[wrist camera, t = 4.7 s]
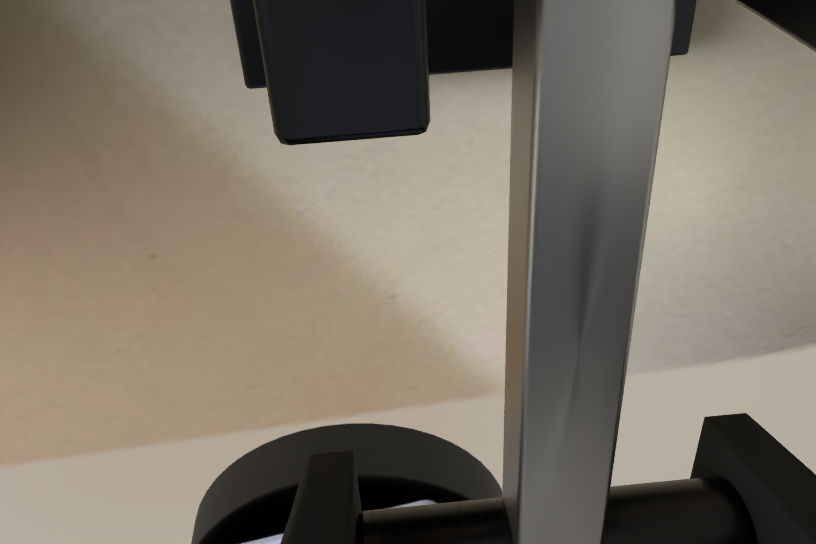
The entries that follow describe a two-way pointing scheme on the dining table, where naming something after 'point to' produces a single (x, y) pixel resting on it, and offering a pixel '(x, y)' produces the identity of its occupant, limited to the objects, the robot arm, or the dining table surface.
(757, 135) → the dining table surface
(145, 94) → the dining table surface
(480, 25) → the bracket
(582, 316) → the lever
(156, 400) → the dining table surface
